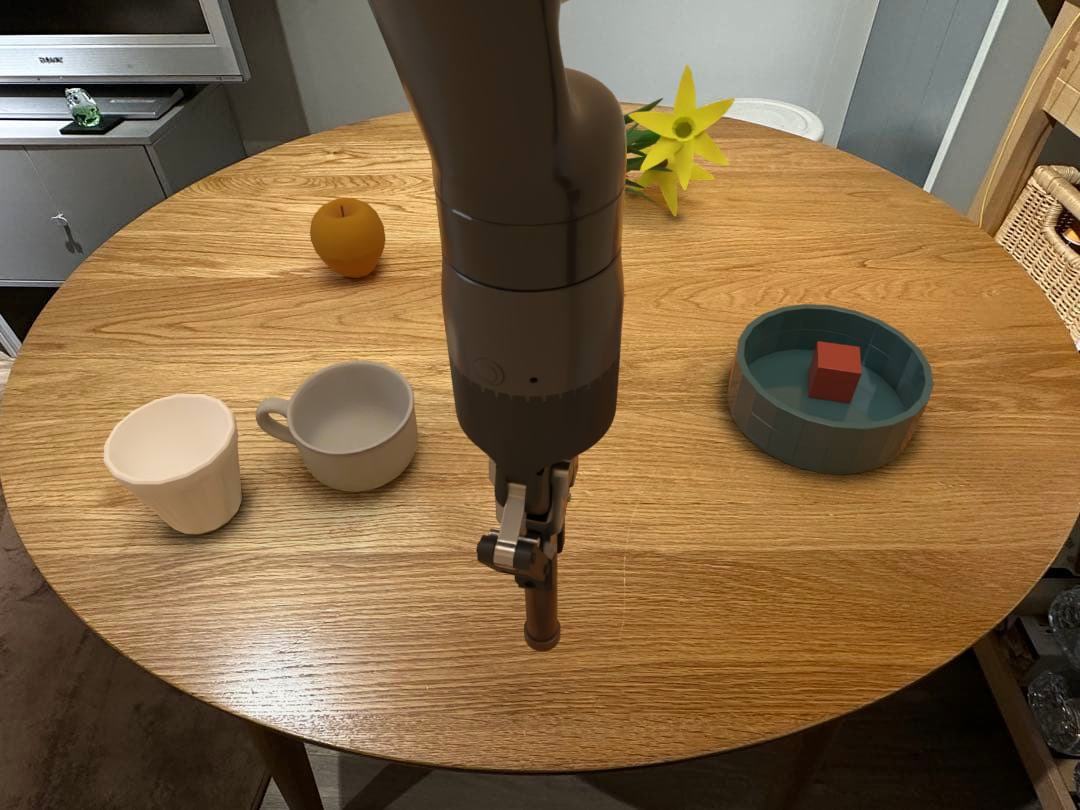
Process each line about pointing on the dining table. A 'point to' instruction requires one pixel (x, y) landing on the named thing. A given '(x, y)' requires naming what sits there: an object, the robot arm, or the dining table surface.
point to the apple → (348, 236)
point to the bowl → (816, 424)
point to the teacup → (348, 424)
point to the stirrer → (542, 616)
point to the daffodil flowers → (673, 142)
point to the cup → (180, 460)
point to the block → (834, 372)
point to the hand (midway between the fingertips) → (540, 563)
